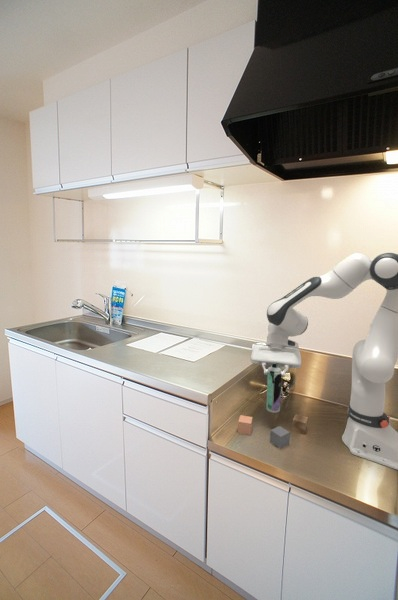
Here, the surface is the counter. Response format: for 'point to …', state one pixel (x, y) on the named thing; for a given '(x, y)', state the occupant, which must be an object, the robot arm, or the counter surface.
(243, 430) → the terracotta block
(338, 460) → the counter surface
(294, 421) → the walnut block
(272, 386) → the spray can
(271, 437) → the charcoal block
